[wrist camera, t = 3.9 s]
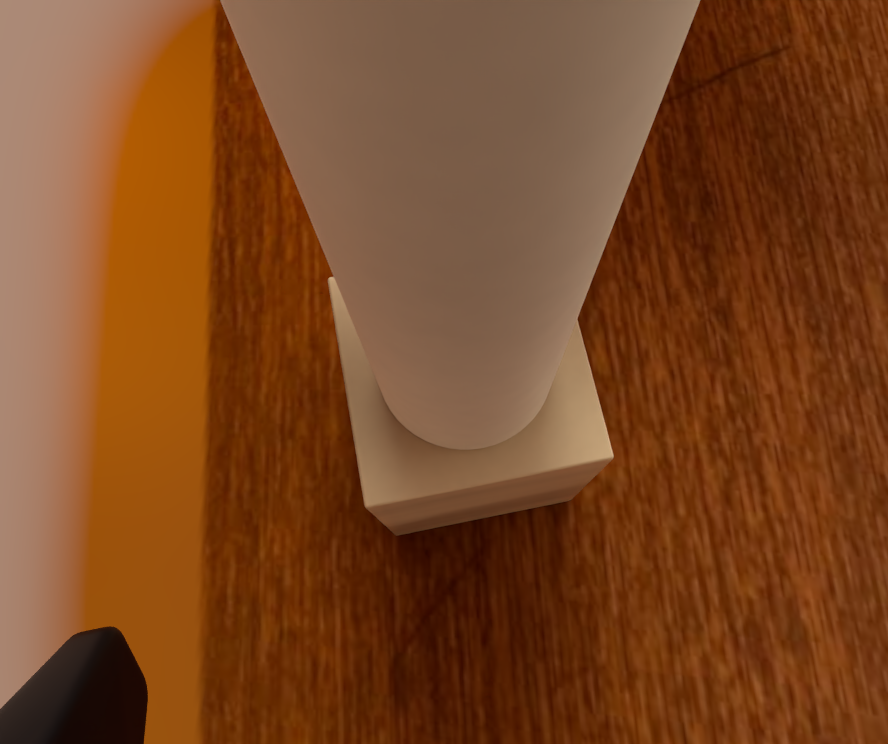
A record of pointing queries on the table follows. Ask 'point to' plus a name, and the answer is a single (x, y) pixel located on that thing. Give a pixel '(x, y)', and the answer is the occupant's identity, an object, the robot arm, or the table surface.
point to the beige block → (471, 471)
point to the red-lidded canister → (462, 177)
